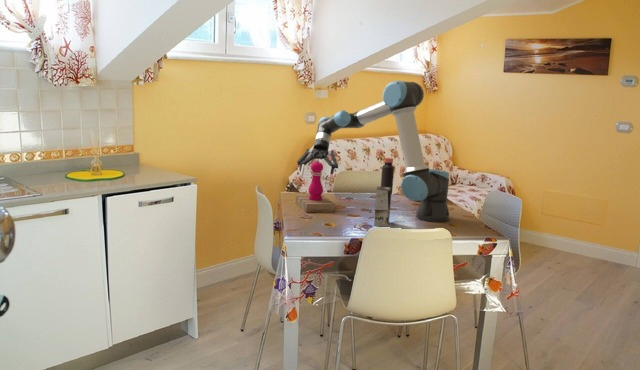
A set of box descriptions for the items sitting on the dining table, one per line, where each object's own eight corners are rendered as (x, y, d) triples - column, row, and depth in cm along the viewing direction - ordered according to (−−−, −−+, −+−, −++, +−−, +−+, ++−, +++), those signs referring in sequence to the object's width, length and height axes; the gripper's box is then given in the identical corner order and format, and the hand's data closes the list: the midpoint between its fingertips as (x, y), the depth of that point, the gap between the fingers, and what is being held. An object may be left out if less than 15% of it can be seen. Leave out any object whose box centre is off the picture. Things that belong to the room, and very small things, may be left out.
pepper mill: (312, 201, 252) (314, 160, 248) (305, 198, 258) (307, 158, 254) (325, 200, 256) (327, 159, 252) (317, 197, 262) (319, 157, 258)
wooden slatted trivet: (334, 211, 250) (334, 203, 249) (306, 212, 246) (306, 204, 245) (322, 202, 269) (322, 194, 268) (295, 203, 265) (295, 195, 264)
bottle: (394, 193, 303) (397, 158, 300) (385, 194, 299) (388, 159, 296) (386, 191, 309) (389, 157, 305) (377, 191, 305) (380, 157, 301)
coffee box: (388, 227, 227) (391, 190, 224) (373, 225, 228) (376, 189, 225) (389, 222, 236) (392, 186, 233) (375, 220, 237) (377, 185, 234)
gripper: (346, 149, 265) (341, 184, 253) (298, 146, 269) (290, 180, 257) (346, 140, 259) (340, 174, 247) (296, 137, 263) (288, 170, 251)
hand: (315, 177), depth 252 cm, fingers open, 13 cm apart
